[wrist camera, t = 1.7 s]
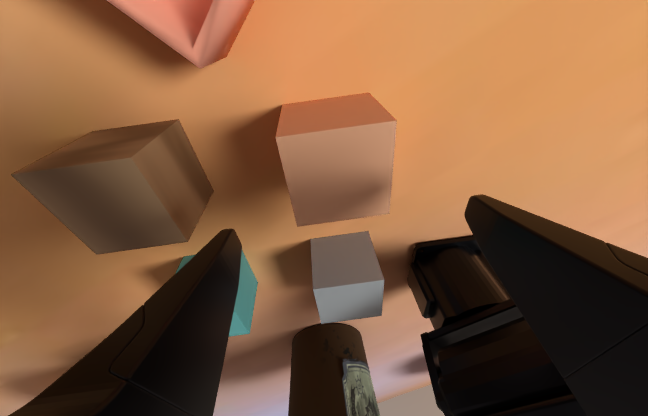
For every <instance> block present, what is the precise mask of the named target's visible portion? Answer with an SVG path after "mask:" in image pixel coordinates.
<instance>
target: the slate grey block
mask: <svg viewBox="0 0 648 416" xmlns="http://www.w3.org/2000/svg"><path fill="white" fill-rule="evenodd" d="M310 240H311V260H312V279H313V291H314V296H315V300H316V304H317V308H318V312H319V316H320V320H321V324H324V323H331V322H339V321H346V320H353V319H361V318H368V317H375V316H382V303H383V290H384V277H383V274H382V271H381V268H380V265H379V262H378V259H377V256H376V253H375V250H374V247H373V244H372V241H371V238H370V235H369V232H368V231H365V232H358V233H350V234H343V235H336V236H329V237H321V238H314V239H310Z"/></svg>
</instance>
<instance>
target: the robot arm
mask: <svg viewBox="0 0 648 416" xmlns="http://www.w3.org/2000/svg"><path fill="white" fill-rule="evenodd" d="M465 219H466V221H467V223H468V225H469V227H470V229H471V231H472V233H473V235H474V236H472V237H465V238H458V239H450V240H443V241H436V242H429V243H421V244H418V245H416V246H415V248H414V253H413V259H412V263H411V264H410V267H409V272H408V278H407V281H408V285H409V287H410V288H411V290H412V292H413V295H414V297H415V300H416V302H417V304H418V307H419V309H420V311H421V314H422V316H423V317H424V318H430V320H431V323H432V325H433V327H434V329H435V330H433V331H431V332H429V333H427V332H425V333H423V334H421V339H422V343H423V345H422V347H423V351H424V355H425V359H426V363H427V367H428V371H429V375H430V379H431V383H432V387H433V391H434V395H435V399H436V404H437V406H438V408H439V409H440V410H441V411H442V412H443V413H444V415H445V416H648V258H646V257H644V256H641V255H638V254H636V253H633V252H630V251H628V250H625V249H622V248H620V247H617V246H615V245H612V244H610V243H605V242H604V241H602V240H599V239H597V238H594V237H591V236H589V235H586V234H584V233H581V232H579V231H576V230H573V229H571V228H568V227H566V226H563V225H561V224H558V223H555V222H553V221H550V220H548V219H545V218H543V217H540V216H537V215H535V214H532V213H530V212H527V211H525V210H522V209H519V208H517V207H514V206H512V205H509V204H507V203H504V202H501V201H499V200H496V199H494V198H491V197H489V196H486V195H474V196H471V197H470V198H469V201H468V204H467V207H466V210H465ZM241 253H242V246H241V242H240V240H239V238H238V236H237V234H236V232H235V230H234V229H224V230H222V231H220V232H219V233H218V234H217V235H216V236H215V237H214V238H213V239H212V240H211V241H210V242H209V243H208V244H207V245H205V246H204V247H203V248H202V249H201V250H200V251H199V252H198V253H197V254H196V255H195V256H194V257H193V258H192V259H191V260H190V261H189V262H187V263H186V264H185V265H184V266H183V267H182V268H181V269H180V270H179V271H178V272H177V273H176V274H175V275H174V276H173V277H172V278H171V279H169V280H168V281H167V282H166V283H165V284H164V285H163V286H162V287H161V288H160V289H159V290H158V291H157V292H156V293H155V294H154V295H152V296H151V297H150V298H149V299H148V300H147V301H146V302H145V303H144V305H142V306H141V307H140V308H139V309H138V310H137V311H135V312H134V313H133V314H132V315H131V316H130V317H129V318H128V319H127V320H126V321H125V322H124V323H122V324H121V325H120V326H119V327H118V328H117V329H116V330H115V331H114V332H113V333H111V334H110V335H109V336H108V337H107V338H106V339H104V340H103V341H102V342H101V343H100V344H99V345H97V346H96V347H95V348H94V349H93V350H92V351H90V352H89V353H88V354H87V355H86V356H85V357H83V358H82V359H81V360H80V361H79V362H77V363H76V364H75V365H74V366H73V367H71V368H70V369H69V370H68V371H67V372H66V373H64V374H63V375H62V376H61V377H60V378H58V379H57V380H56V381H55V382H54V383H52V384H51V385H50V386H49V387H48V388H47V389H45V390H44V391H43V392H42V393H40V394H39V395H38V396H37V397H35V398H34V399H33V400H31V401H30V402H29V403H27V404H26V405H24V406H23V407H21V408H20V409H18V410H17V411H15V412H13V413H12V414H10V415H8V416H213V412H214V407H215V402H216V397H217V392H218V387H219V382H220V377H221V372H222V367H223V362H224V357H225V352H226V347H227V342H228V337H229V332H230V327H231V322H232V317H233V312H234V307H235V302H236V297H237V292H238V287H239V278H240V265H241Z"/></svg>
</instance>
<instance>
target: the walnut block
mask: <svg viewBox="0 0 648 416" xmlns="http://www.w3.org/2000/svg"><path fill="white" fill-rule="evenodd" d="M11 175H12V176H13V177H14V178H15V179H16V180H17V181H18V182H19V183H20V184H21V185H22V186H23V187H25V188H26V189H27V190H28V191H29V192H30V193H31V194H32V195H33V196H34V197H35V198H36V199H37V200H38V201H40V202H41V203H42V204H43V205H44V206H45V207H46V208H47V209H48V210H49V211H50V212H51V213H52V214H53V215H55V216H56V217H57V218H58V219H59V220H60V221H61V222H62V223H63V224H64V225H65V226H66V227H67V228H69V229H70V230H71V231H72V232H73V233H74V234H75V235H76V236H77V237H78V238H79V239H80V240H81V241H82V242H84V243H85V244H86V245H87V246H88V247H89V248H90V249H91V250H92V251H93V252H94V253H95V254H96V255H97V254H104V253H111V252H118V251H125V250H132V249H140V248H147V247H154V246H161V245H168V244H175V243H183V242H188V240H189V238H190V236H191V234H192V233H193V231H194V229H195V227H196V225H197V223H198V221H199V219H200V217H201V215H202V213H203V211H204V209H205V207H206V205H207V203H208V201H209V199H210V197H211V195H212V193H213V189H212V187H211V185H210V183H209V181H208V179H207V177H206V175H205V173H204V170H203V168H202V166H201V164H200V162H199V160H198V158H197V156H196V154H195V152H194V150H193V148H192V146H191V144H190V142H189V139H188V137H187V135H186V133H185V131H184V129H183V127H182V125H181V123H180V121H179V119H178V120H171V121H163V122H156V123H149V124H142V125H135V126H128V127H121V128H114V129H107V130H99V131H93V132H91V133H89V134H87V135H85V136H83V137H81V138H79V139H77V140H75V141H74V142H72V143H70V144H68V145H66V146H64V147H62V148H60V149H58V150H56V151H55V152H53V153H51V154H49V155H47V156H45V157H43V158H41V159H39V160H37V161H36V162H34V163H32V164H30V165H28V166H26V167H24V168H22V169H20V170H18V171H16V172H15V173H13V174H11Z"/></svg>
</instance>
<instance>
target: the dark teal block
mask: <svg viewBox="0 0 648 416" xmlns="http://www.w3.org/2000/svg"><path fill="white" fill-rule="evenodd" d="M194 256H195V255H191V256H184V257H183V259H182V261H181V263H180V265H179V267H178V269H177V271H176V273H177V272H178V271H179V270H180V269H181V268H182V267H183V266H184V265H185V264H186V263H187V262H189V261H190V260H191V259H192V258H193V257H194ZM176 273H175V274H176ZM257 284H258V282H257V280H256V278H255V276H254V274H253V272H252V270H251V268H250V265H249V263H248V261H247V259H246V257H245V255H244V253H243V251H242V253H241V265H240V278H239V287H238V292H237V297H236V302H235V307H234V312H233V317H232V322H231V327H230V332H229V336H236V335H243V334H250V328H251V322H252V316H253V310H254V303H255V297H256V291H257Z"/></svg>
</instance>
